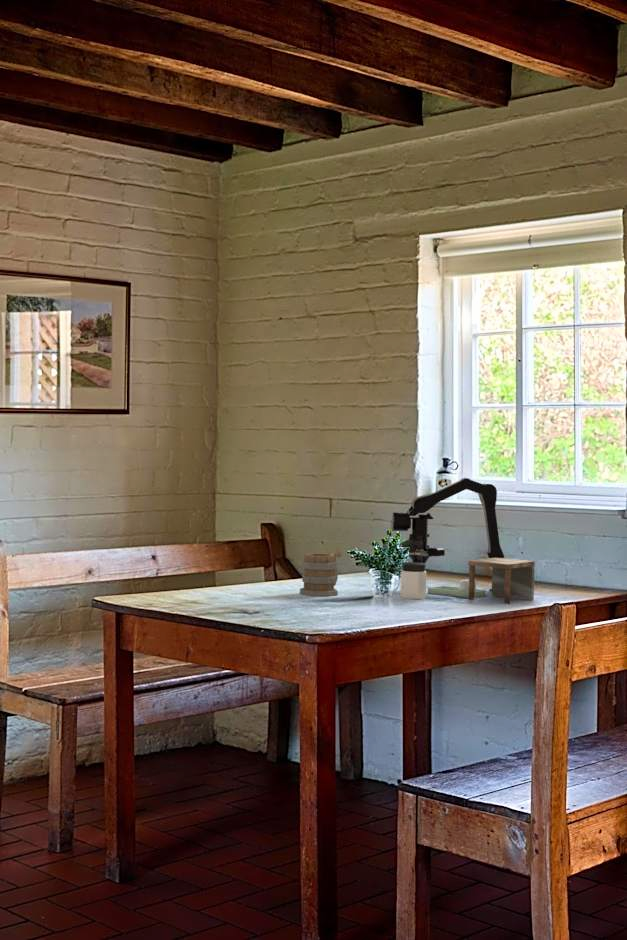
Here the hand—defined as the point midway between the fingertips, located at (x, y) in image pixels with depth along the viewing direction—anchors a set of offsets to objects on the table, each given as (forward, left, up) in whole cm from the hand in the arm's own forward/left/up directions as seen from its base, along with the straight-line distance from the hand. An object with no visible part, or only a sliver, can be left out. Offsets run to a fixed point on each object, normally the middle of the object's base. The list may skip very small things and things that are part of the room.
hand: (418, 574), depth 467 cm
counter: (0, +34, -6) cm, 35 cm away
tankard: (+33, -18, -6) cm, 38 cm away
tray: (0, +16, -6) cm, 17 cm away
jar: (+19, +10, -6) cm, 23 cm away
